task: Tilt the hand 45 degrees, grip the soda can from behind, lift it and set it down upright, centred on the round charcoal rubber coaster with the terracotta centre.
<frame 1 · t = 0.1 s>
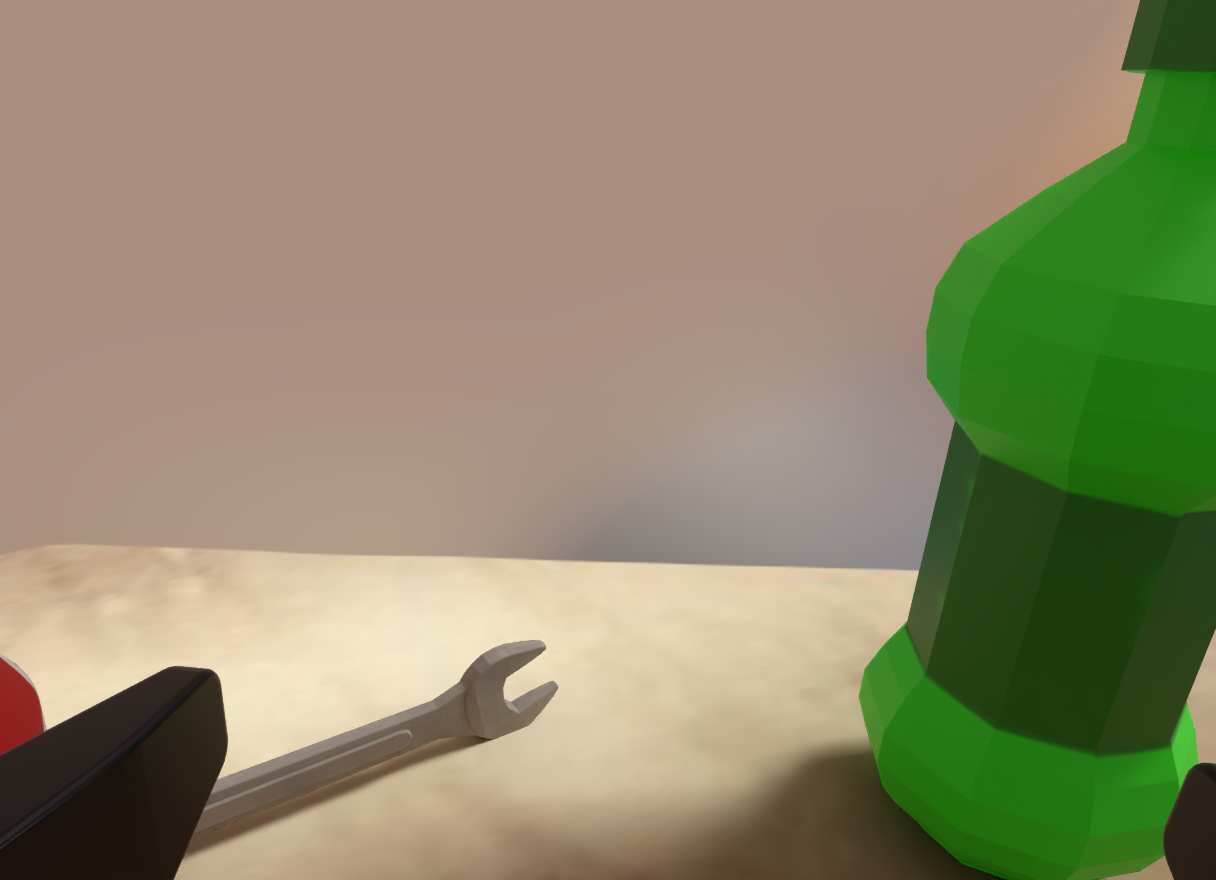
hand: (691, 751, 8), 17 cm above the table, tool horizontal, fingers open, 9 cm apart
plastic bottle: (988, 820, 29), on the table
combination wrench: (290, 829, 28), on the table
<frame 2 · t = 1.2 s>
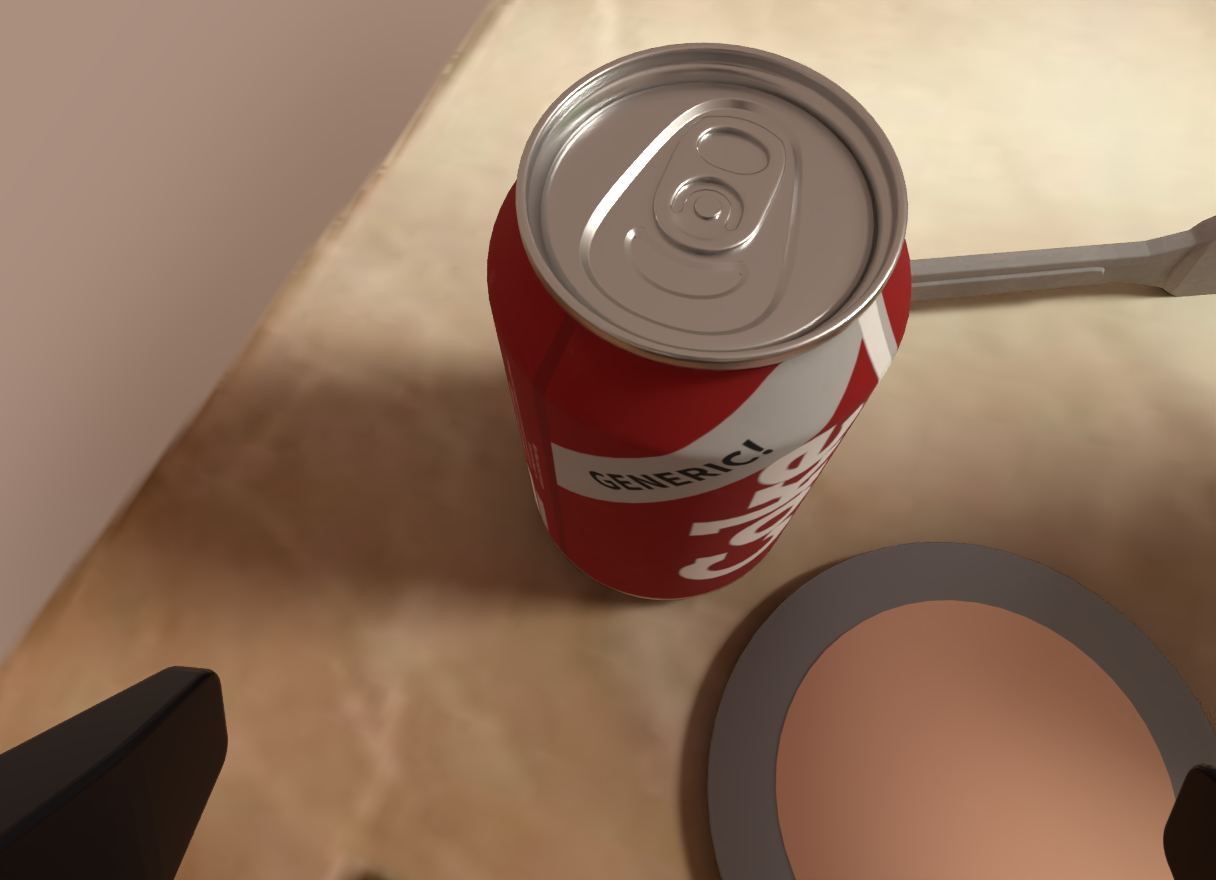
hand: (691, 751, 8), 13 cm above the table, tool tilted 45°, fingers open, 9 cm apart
coaster: (964, 798, 20), on the table
combination wrench: (931, 320, 26), on the table
soda can: (660, 483, 23), on the table
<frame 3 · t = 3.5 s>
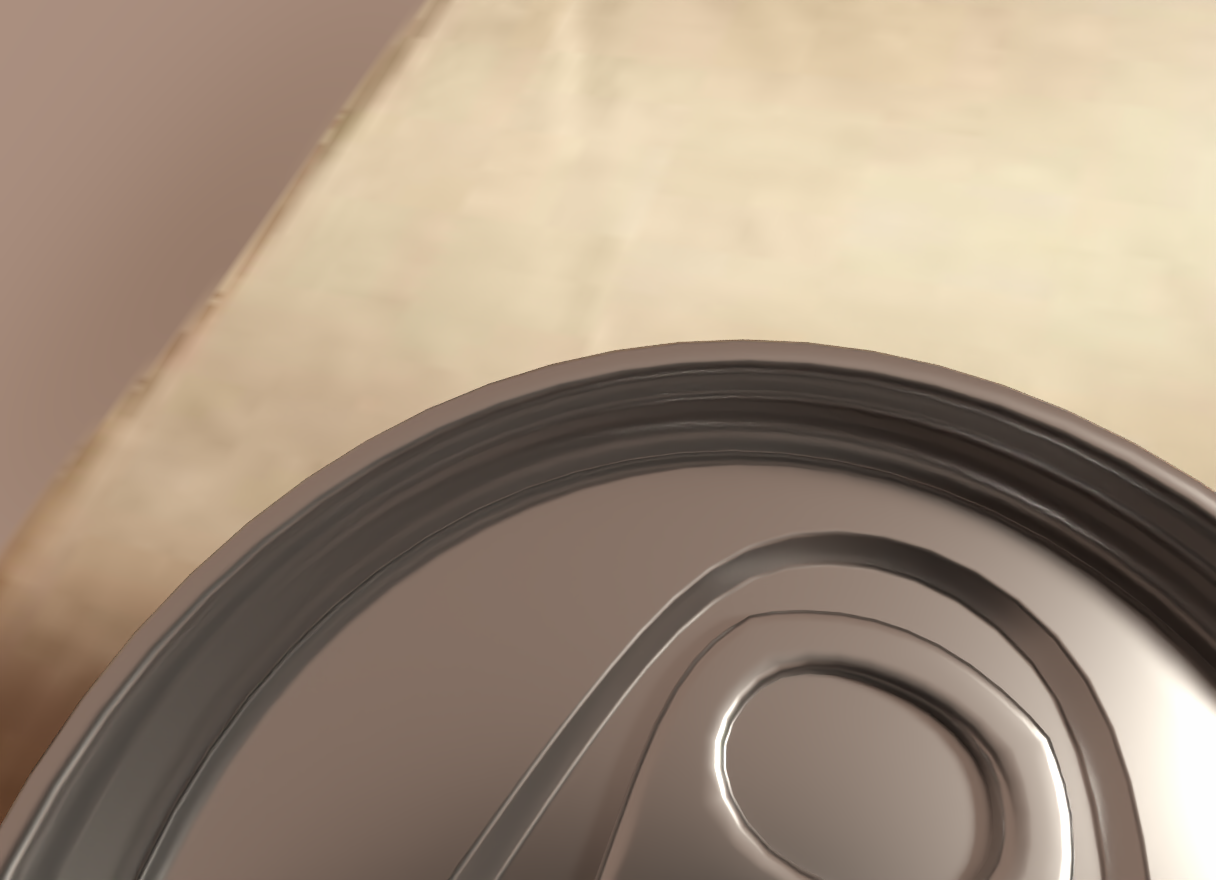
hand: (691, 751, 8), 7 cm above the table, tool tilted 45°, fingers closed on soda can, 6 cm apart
soda can: (642, 866, 14), on the table, touching gripper
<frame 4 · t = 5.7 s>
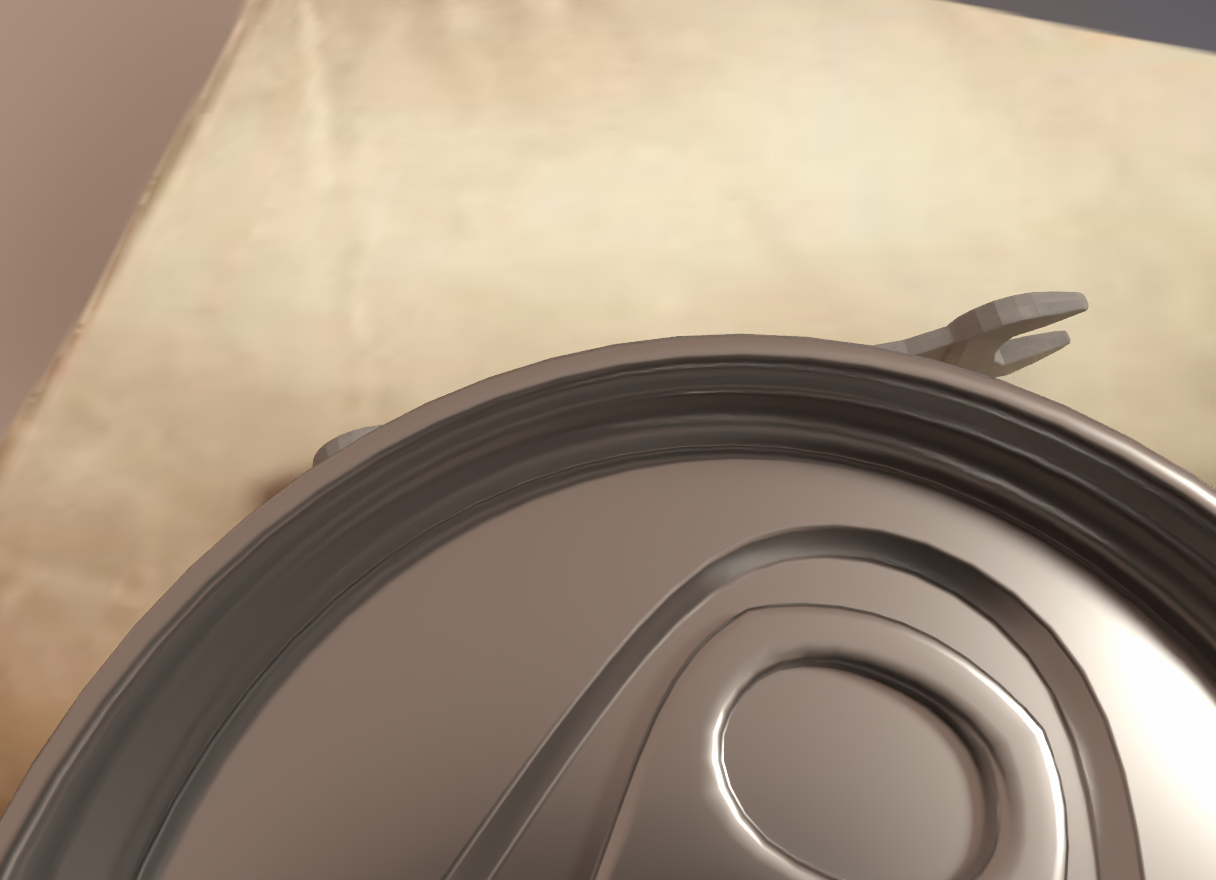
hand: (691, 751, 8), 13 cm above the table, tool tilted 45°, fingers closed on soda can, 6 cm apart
combination wrench: (700, 432, 24), on the table
soda can: (638, 861, 14), point 6 cm above the table, touching gripper
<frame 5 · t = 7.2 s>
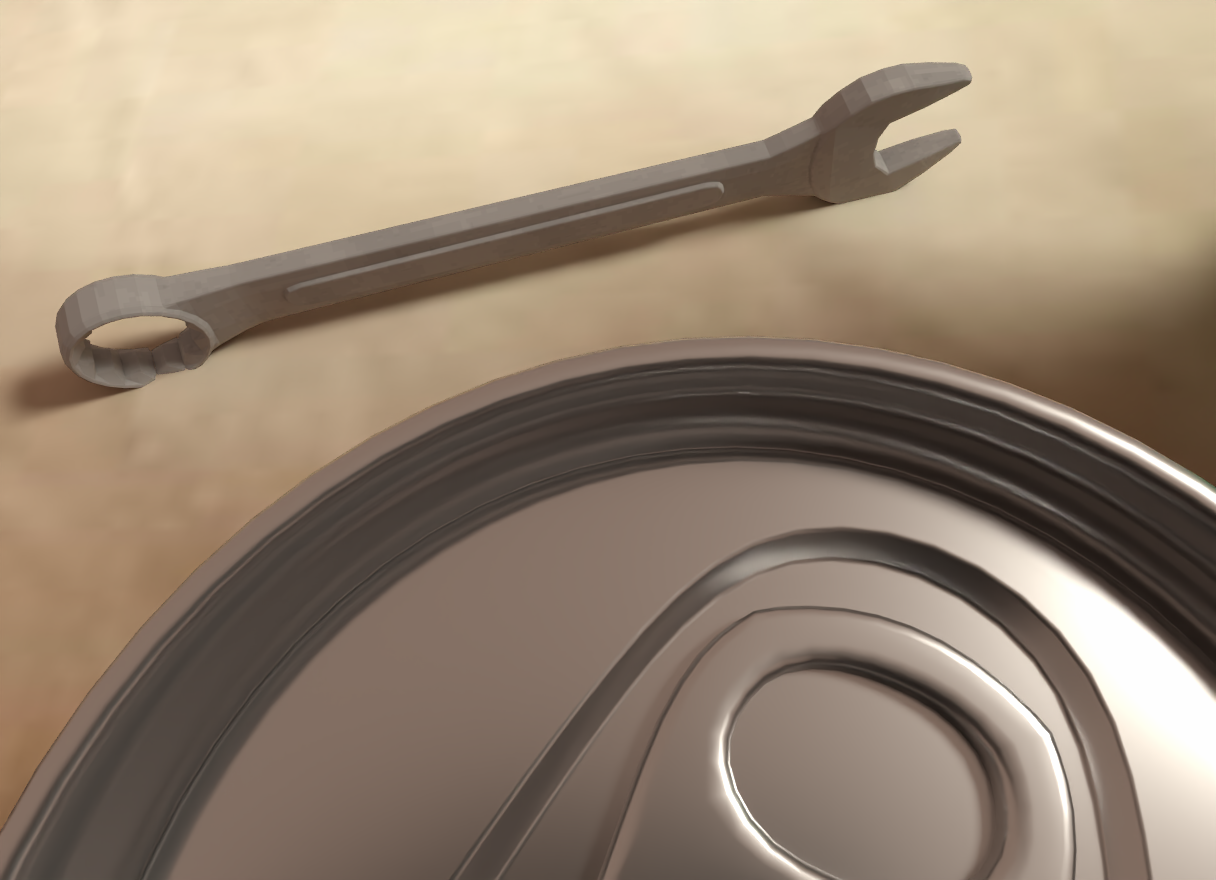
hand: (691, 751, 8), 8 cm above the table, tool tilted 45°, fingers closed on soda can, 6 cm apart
combination wrench: (544, 281, 20), on the table
soda can: (640, 862, 14), point 2 cm above the table, touching gripper
when the fingers open (8 cm above the table, at t = 8.1 s): soda can moves 1 cm, resting on coaster.
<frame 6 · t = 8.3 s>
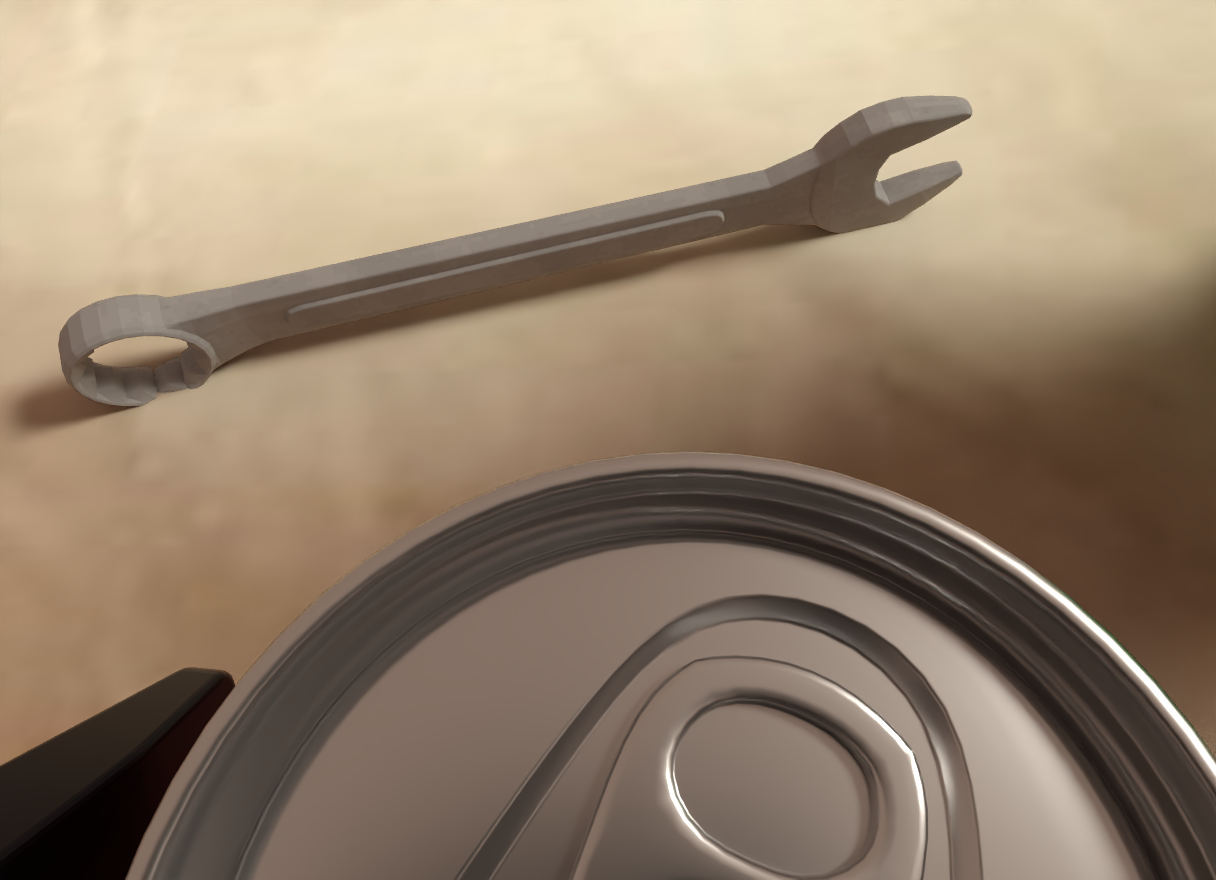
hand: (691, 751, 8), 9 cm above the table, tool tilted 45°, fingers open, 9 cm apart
combination wrench: (545, 305, 20), on the table
soda can: (632, 858, 15), resting on coaster
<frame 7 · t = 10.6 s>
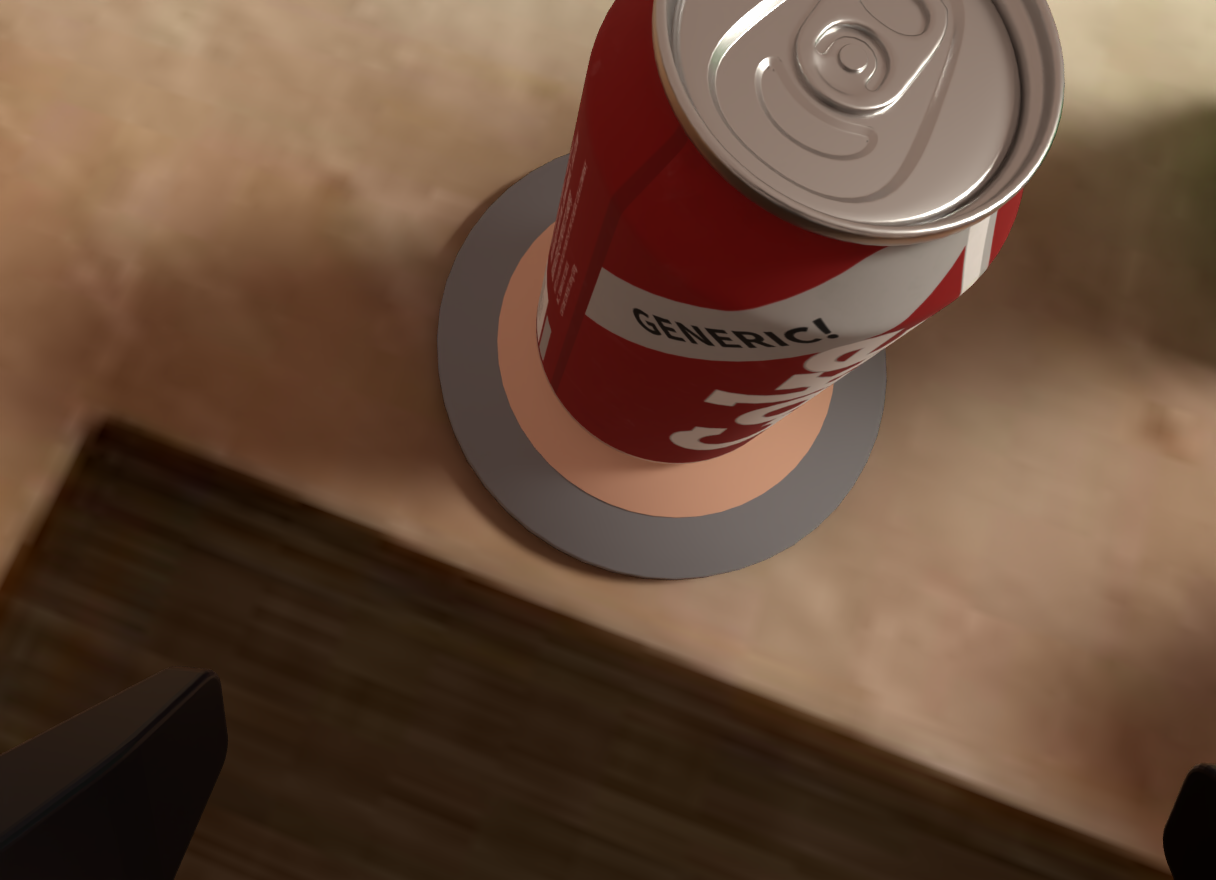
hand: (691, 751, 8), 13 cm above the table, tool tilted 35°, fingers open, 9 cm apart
coaster: (665, 353, 23), on the table
soda can: (661, 344, 23), resting on coaster
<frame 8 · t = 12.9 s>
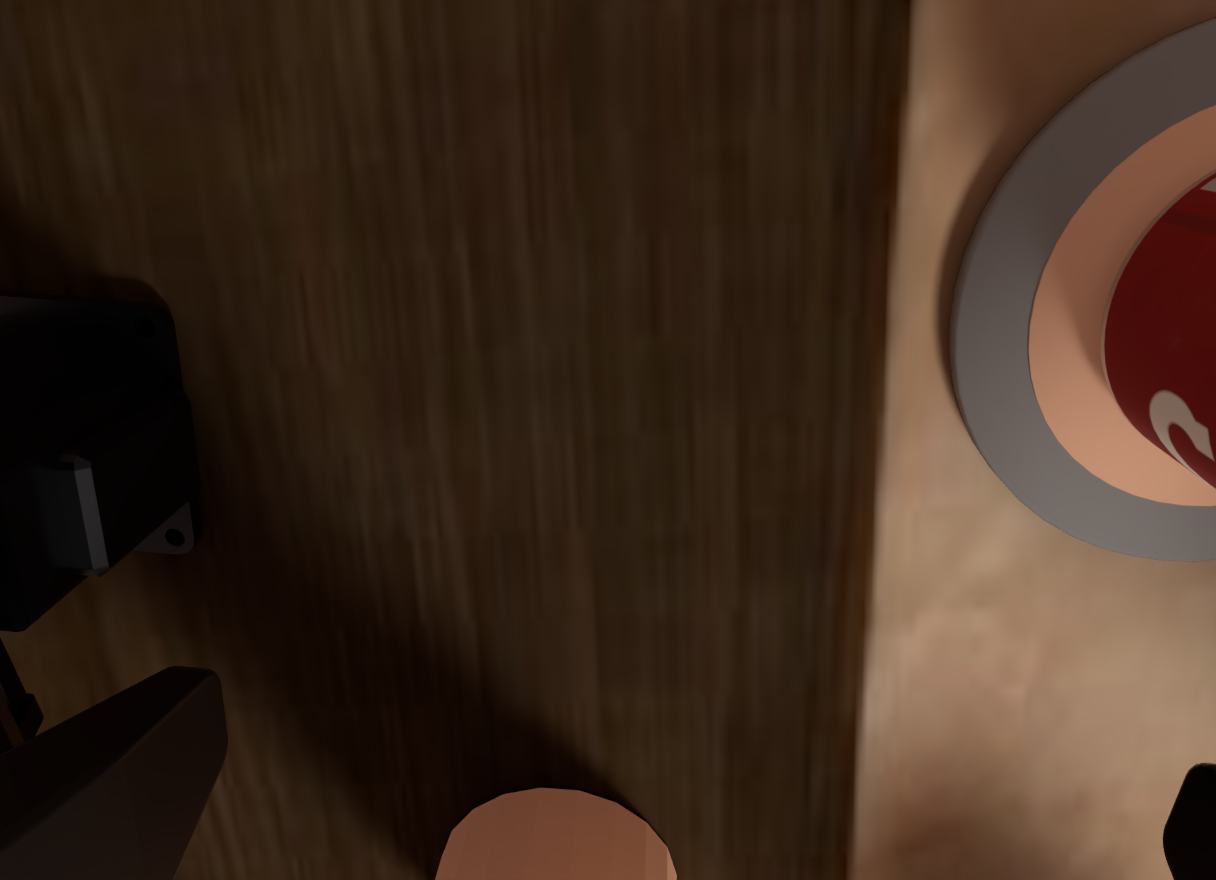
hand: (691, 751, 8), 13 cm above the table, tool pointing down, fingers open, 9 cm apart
pepper shaker: (559, 872, 27), on the table
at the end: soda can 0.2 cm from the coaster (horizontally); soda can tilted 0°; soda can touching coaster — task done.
